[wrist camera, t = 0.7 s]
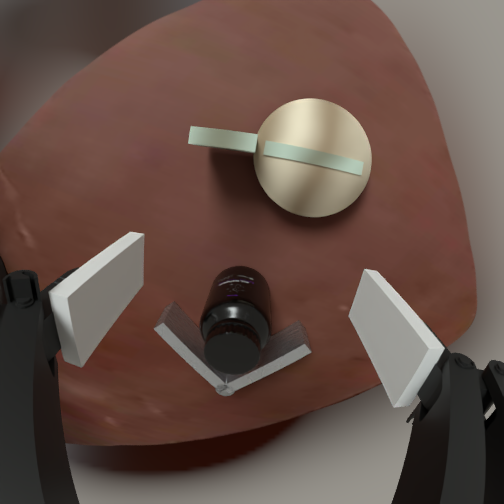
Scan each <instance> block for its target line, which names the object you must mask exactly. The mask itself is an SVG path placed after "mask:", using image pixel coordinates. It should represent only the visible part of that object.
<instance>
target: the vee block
mask: <svg viewBox="0 0 504 504" xmlns="http://www.w3.org/2000/svg"><path fill="white" fill-rule="evenodd" d="M154 330H155V331H156V332H157V333H158V334H159V335H160V336H161V337H162V338H163V339H164V340H165V341H166V342H167V343H168V344H169V345H170V346H171V347H172V348H173V349H174V350H175V351H176V352H177V353H178V354H179V355H180V356H181V357H182V358H183V359H184V360H185V361H186V362H187V363H189V364H190V365H191V366H192V367H193V368H194V369H195V370H196V371H197V372H198V373H199V374H200V375H202V376H203V377H204V378H205V379H206V380H207V381H208V382H209V383H210V384H212V385H213V386H214V387H215V388H216V391H217V393H218V394H220V395H223V396H230V395H232V394H233V393H234V391H236V390H238V389H240V388H242V387H244V386H247V385H249V384H251V383H253V382H255V381H257V380H259V379H261V378H263V377H265V376H267V375H269V374H271V373H273V372H275V371H277V370H279V369H281V368H283V367H285V366H287V365H289V364H291V363H293V362H295V361H297V360H298V359H300V358H302V357H304V356H306V355H308V354H309V353H311V348H310V344H309V340H308V336H307V333H306V329H305V327H304V326H303V325H302V323H301V322H300V321H299V320H298V321H297V322H295V323H293V324H292V325H290V326H288V327H287V328H285V329H283V330H281V331H280V332H278V333H276V334H274V335H273V336H271V337H270V339H269V341H268V343H267V345H266V346H265V347H264V348H263V349H262V350H261V354H260V360H259V361H258V364H257V365H256V366H255V368H253V369H252V370H250V371H248V372H247V373H244V374H239V375H231V374H225V373H221V372H219V371H217V370H216V369H213V368H212V366H210V365H209V363H208V362H207V361H206V359H205V355H204V345H205V342H204V341H203V339H202V337H201V334H200V329H199V328H198V327H197V326H196V325H195V324H194V322H193V321H192V320H191V319H190V318H189V317H188V316H187V315H186V314H185V313H184V312H183V311H182V309H181V308H180V307H179V306H178V305H177V304H176V303H175V302H172V303H171V304H169V305H168V306H166V307H165V309H164V311H163V313H162V314H161V316H160V318H159V320H158V322H157V324H156V326H155V327H154Z"/></svg>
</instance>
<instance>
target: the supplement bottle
mask: <svg viewBox="0 0 504 504" xmlns="http://www.w3.org/2000/svg"><path fill="white" fill-rule="evenodd" d="M200 334H201V337H202V339H203V341H204V342H205V345H204V355H205V359H206V361H207V362H208V363H209V365H210V366H212V368H213V369H216V370H217V371H219V372H221V373H225V374H231V375H239V374H244V373H247V372H248V371H250V370H252V369H253V368H255V366H256V365H257V364H258V361H259V360H260V354H261V350H262V349H263V348H264V347H265V346H266V345H267V343H268V341H269V339H270V336H271V309H270V293H269V287H268V284H267V282H266V280H265V278H264V277H263V276H262V275H261V274H260V273H259V272H257V271H256V270H254V269H252V268H249V267H245V266H234V267H230V268H228V269H226V270H224V271H222V272H221V273H220V274H219V275H218V276H217V277H216V279H215V280H214V282H213V285H212V287H211V290H210V293H209V296H208V299H207V301H206V304H205V307H204V310H203V313H202V316H201V319H200Z"/></svg>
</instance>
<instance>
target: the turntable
mask: <svg viewBox="0 0 504 504" xmlns="http://www.w3.org/2000/svg"><path fill="white" fill-rule="evenodd" d="M188 144H193V145H199V146H204V147H213V148H221V149H228V150H235V151H242V152H249V153H253V158H254V167H255V171H256V175H257V178H258V180H259V182H260V184H261V186H262V188H263V189H264V191H265V192H266V193H267V195H268V196H269V197H270V198H271V199H272V200H273V201H274V202H275V203H276V204H278V205H279V206H281V207H282V208H284V209H285V210H287V211H289V212H292V213H294V214H297V215H301V216H306V217H323V216H328V215H332V214H335V213H337V212H339V211H341V210H343V209H345V208H346V207H348V206H349V205H350V204H352V203H353V202H354V201H355V200H356V199H357V198H358V197H359V195H360V194H361V193H362V191H363V189H364V188H365V186H366V184H367V181H368V179H369V175H370V171H371V149H370V145H369V141H368V138H367V136H366V134H365V132H364V130H363V128H362V127H361V125H360V124H359V122H358V121H357V120H356V119H355V118H354V117H353V116H352V115H351V114H350V113H349V112H348V111H346V110H345V109H343V108H342V107H340V106H338V105H336V104H334V103H332V102H329V101H325V100H320V99H300V100H296V101H292V102H290V103H287V104H285V105H283V106H281V107H279V108H278V109H277V110H275V111H274V112H273V113H272V114H271V115H270V116H269V117H268V118H267V119H266V120H265V122H264V123H263V124H262V126H261V128H260V130H259V132H258V134H251V133H244V132H237V131H230V130H222V129H213V128H204V127H193V126H191V129H190V135H189V141H188Z"/></svg>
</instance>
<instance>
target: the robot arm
mask: <svg viewBox="0 0 504 504" xmlns="http://www.w3.org/2000/svg"><path fill="white" fill-rule="evenodd" d="M143 260H144V234H141V233H135V232H129V233H128V234H126V235H125V236H124V237H122V238H121V239H119V240H118V241H116V242H115V243H113V244H112V245H111V246H109V247H108V248H106V249H105V250H103V251H102V252H101V253H99V254H98V255H96V256H95V257H94V258H92V259H91V260H90V261H88V262H87V263H85V264H84V265H83V266H81V267H80V268H75V269H72V270H70V271H67V272H66V273H65V274H63V275H62V276H61V277H60V278H58V279H57V280H55V281H54V282H53V283H51V284H50V285H49V286H47V287H46V288H45V289H44V290H42V291H41V292H40V289H39V283H38V276H37V274H36V273H35V272H33V271H30V270H19V271H15V272H12V273H10V274H8V275H7V273H6V270H5V267H4V265H3V262H2V260H1V258H0V504H79V501H78V497H77V494H76V490H75V487H74V483H73V479H72V475H71V470H70V466H69V461H68V457H67V451H66V446H65V440H64V433H63V426H62V419H61V410H60V399H59V385H58V363H57V359H56V356H55V355H56V353H57V352H58V351H59V350H60V349H61V351H62V354H63V358H64V361H66V362H68V363H71V364H74V365H76V366H79V367H83V365H84V364H85V362H86V361H87V359H88V358H89V357H90V355H91V354H92V352H93V351H94V349H95V348H96V347H97V345H98V344H99V343H100V341H101V340H102V338H103V337H104V336H105V334H106V333H107V332H108V330H109V329H110V328H111V326H112V325H113V324H114V322H115V321H116V320H117V318H118V317H119V316H120V314H121V313H122V312H123V310H124V309H125V308H126V306H127V305H128V304H129V302H130V301H131V300H132V299H133V297H134V296H135V295H136V294H137V292H138V291H139V290H140V288H141V287H142V286H143ZM349 318H350V320H351V322H352V324H353V325H354V327H355V329H356V331H357V333H358V335H359V337H360V339H361V341H362V343H363V345H364V347H365V349H366V351H367V353H368V355H369V357H370V359H371V361H372V363H373V365H374V367H375V369H376V371H377V373H378V376H379V378H380V380H381V382H382V384H383V386H384V388H385V390H386V392H387V394H388V397H389V399H390V401H391V403H392V406H393V407H402V406H409V405H410V404H411V402H412V401H413V400H414V398H415V397H416V395H417V394H418V396H419V398H420V400H421V401H420V403H419V404H418V405H417V407H416V408H415V410H414V411H413V412H412V414H411V415H410V416H409V418H408V419H407V421H406V422H407V423H408V422H409V421H410V420H411V419H412V418H414V421H413V423H412V424H413V426H412V432H411V437H410V441H409V445H408V449H407V454H406V458H405V461H404V465H403V469H402V472H401V476H400V479H399V482H398V486H397V489H396V492H395V495H394V498H393V501H392V503H391V504H504V363H503V362H501V361H496V360H491V361H490V362H489V363H488V365H487V367H486V368H485V370H479V369H477V368H476V366H475V364H474V362H473V361H472V360H471V359H470V358H468V357H467V356H465V355H463V354H460V353H452V354H451V353H450V351H449V350H448V349H447V348H446V347H445V345H444V344H443V343H442V342H441V340H440V339H439V338H437V336H436V334H435V333H434V332H432V330H431V329H430V327H429V326H428V325H427V324H426V323H425V322H423V321H422V320H421V319H420V318H419V317H418V316H417V314H416V313H415V312H414V311H413V310H412V309H411V308H410V306H409V305H408V304H407V303H406V302H405V301H404V300H403V299H402V298H401V296H400V295H399V294H398V293H397V292H396V291H395V290H394V289H393V288H392V287H391V285H390V284H389V283H388V282H387V281H386V280H385V279H384V278H383V277H382V276H381V275H380V274H379V273H378V272H377V271H374V270H368V269H364V271H363V274H362V277H361V280H360V284H359V287H358V290H357V293H356V296H355V299H354V302H353V304H352V307H351V310H350V313H349ZM493 403H494V405H495V407H496V409H495V410H494V412H493V413H492V414H491V416H490V417H489V418H488V419H487V420H486V418H485V416H484V415H485V414H486V412H487V411H488V410H489V409H490V407H491V406H492V405H493Z"/></svg>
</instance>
